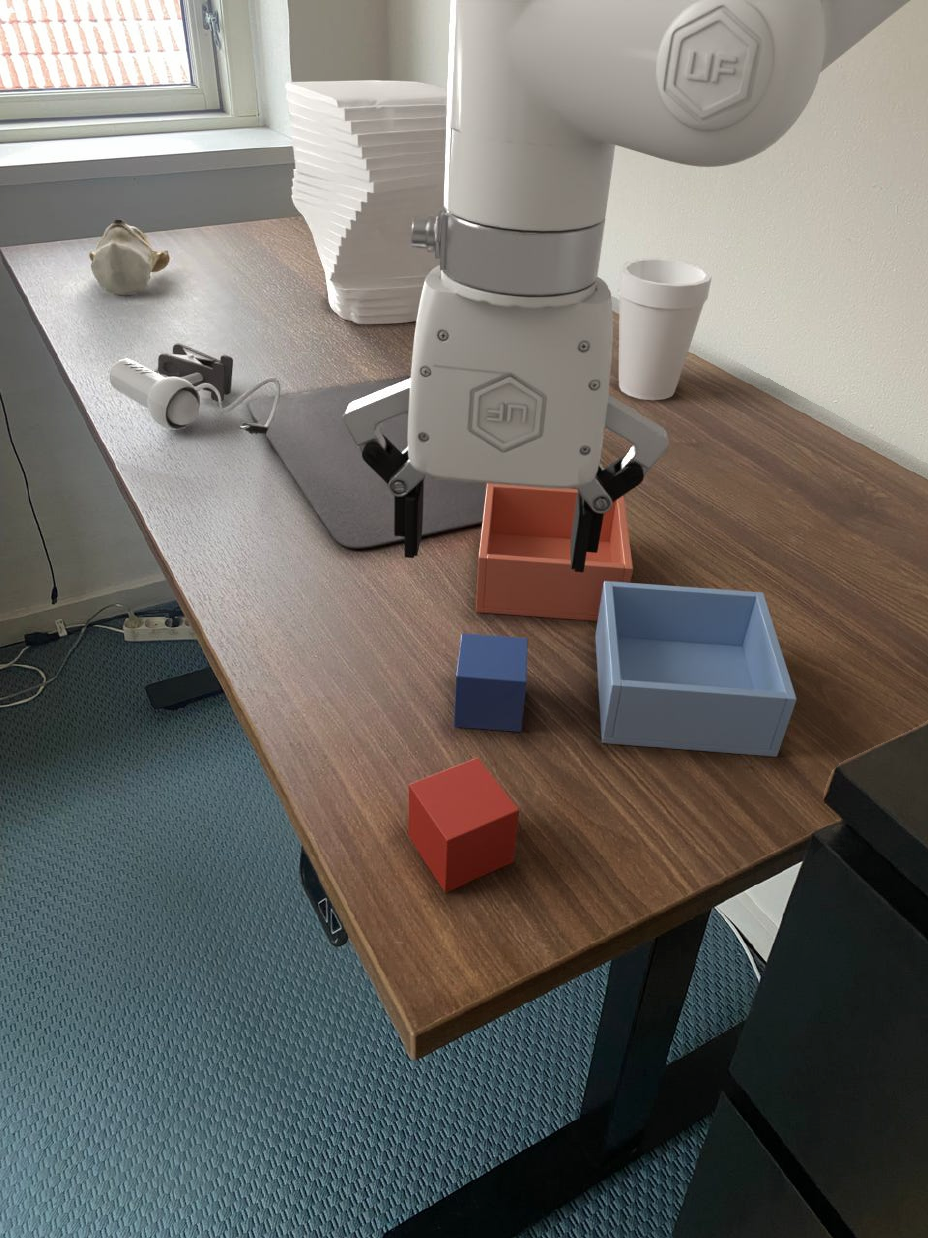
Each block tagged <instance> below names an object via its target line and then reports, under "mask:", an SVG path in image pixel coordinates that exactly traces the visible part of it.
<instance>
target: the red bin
mask: <svg viewBox="0 0 928 1238" xmlns="http://www.w3.org/2000/svg"><path fill="white" fill-rule="evenodd" d="M577 493H578V490H577V489H568V488H566V489H561V488H542V487H529V486H516V485H504V484H491V483H487V488H486V497H485V506H484V515H483V524H481V533H480V541H479V542H480V543H479V552H478V561H477V563H478V564H477V578H476V579H477V582H476V599H475V612H476V613H482V614H484V613H485V614H495V615H496V614H497V615H507V616H509V615H510V616H521V617H522V616H523V617H535V618H536V617H537V618H550V619H563V620H578V621H592V622H598V616H599V609H600V603H601V597H602V590H603V584H604V581H610V582H625V583H632V576H633V572H634V571H633V570H634V566H633V557H632V549H631V542H630V533H629V527H628V519H627V518H628V517H627V510H626V509H627V508H626V503H625V502H626V501H625V495H623V496H622V497H620V498H619V499H617V500H616V501H614V502H613V503H612V507H611V509H610V510H609V511H608V512H606V513H604V516H603V522H602V528H601V534H600V540H599V546H598V551H597V553H592V552H587V554H586V560H585V566H584V572H574V569H571V554H570V541H571V534H572V527H573V520H574V513H575V506H576V500H577Z"/></svg>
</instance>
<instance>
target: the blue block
mask: <svg viewBox="0 0 928 1238" xmlns="http://www.w3.org/2000/svg"><path fill="white" fill-rule="evenodd" d="M528 645H529V639H528V637H519V636H517V637H516V636H504V635H489V634H477V633H464V632H463V633H461V634H460V643H459V649H458V658H457V665H456V674H455V690H454V691H455V693H454V713H453V714H454V718H453V727H454V728H463V729H476V730H488V731H489V730H490V731H501V732H514V733H521V732H522V729H523V721H524V712H525V711H524V709H525V700H526V691H527V690H526V689H527V681H528V680H527V677H528V648H529V647H528Z"/></svg>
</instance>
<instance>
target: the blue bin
mask: <svg viewBox="0 0 928 1238" xmlns="http://www.w3.org/2000/svg"><path fill="white" fill-rule="evenodd" d="M772 619H773V618H772V616H771V613H770V610H769V606H768V604H767V600H766V597H765V594H764V592H761V591H748V590H735V589H734V590H733V589H720V588H708V587H707V588H705V587H693V586H678V585H666V584H665V585H664V584H652V583H651V584H649V583H639V582H638V583H635V582H631V583H625V582H610V581H604V584H603V590H602V597H601V603H600V609H599V616H598V621H596V622H597V623H596V628H595V629H596V630H595V637H594V638H595V652H596V654H595V655H596V669H597V685H598V702H599V703H598V704H599V718H600V719H599V720H600V736H601V743H602V744H609V745H623V746H636V747H647V748H659V749H671V750H672V749H673V750H687V751H697V752H698V751H699V752H711V753H712V752H713V753H725V754H736V755H747V756H761V757H762V756H764V757H774V758H776V757H778V754H779V753H780V749H781V746H782V743H783V740H784V738H785V735H786V732H787V728H788V726H789V723H790V720H791V717H792V714H793V711H794V708H795V705H796V702H797V696H796V692H795V689H794V686H793V683H792V680H791V676H790V674H789V670H788V666H787V664H786V661H785V658H784V654H783V651H782V647H781V645H780V642H779V638H778V636H777V632H776V629H775V626H774V622H773V620H772Z"/></svg>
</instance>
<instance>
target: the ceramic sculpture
mask: <svg viewBox="0 0 928 1238" xmlns="http://www.w3.org/2000/svg"><path fill="white" fill-rule="evenodd" d="M149 241H150V240H149V239H148V238H147V236H146V234H145V233H144V232H143V231H142V230H141V229H140V228H138V227H136V226H133V225H132V226H131V225H129V224H127V223H126V222H125V220H123V219H120V218H117V219H115V220H113V221H112V223H111V224H110V225H108V227H107V228H106V229H105V230H104V231H103V233H102V235H101V236H100V240H99V241H98V242H97V244H96V247H95V252H93V251H90V252H89V254H88V257H89V259H90V262H91V263H90V269H91V271H92V272H91V273H92V274H93V276H94V278H95V280H96V282H97V283H98V285H100V286H101V288H102V289H103V290H105V291H106V292H108V293H110V294H115V295H119V296H130V295H134V294H139V293H141V292H143V291H144V290H145V289H146V288H147V286H148V283H149V281H150V278H151V273H157V272H160V271H162V270H164V269H166V267H167V266H168V265H169V263H170V257H171V256H170V255H169V251H168V250H163V251H156V250H153V247H152V244H151V243H150V242H149Z"/></svg>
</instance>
